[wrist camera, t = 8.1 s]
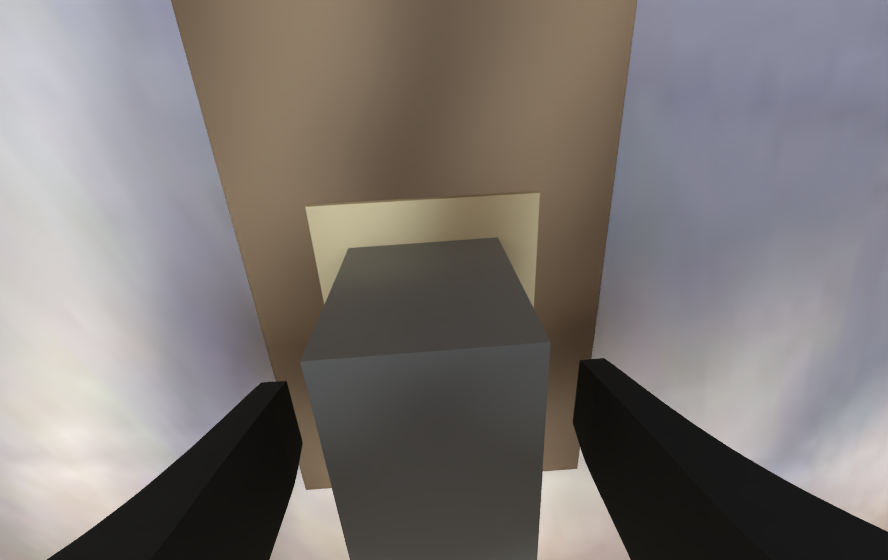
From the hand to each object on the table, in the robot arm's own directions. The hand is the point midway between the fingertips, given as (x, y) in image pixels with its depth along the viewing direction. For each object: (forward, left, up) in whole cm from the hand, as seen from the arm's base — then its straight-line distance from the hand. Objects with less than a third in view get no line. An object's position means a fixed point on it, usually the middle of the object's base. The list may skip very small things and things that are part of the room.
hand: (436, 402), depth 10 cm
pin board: (0, -4, -4) cm, 5 cm away
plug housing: (0, 0, -2) cm, 2 cm away
